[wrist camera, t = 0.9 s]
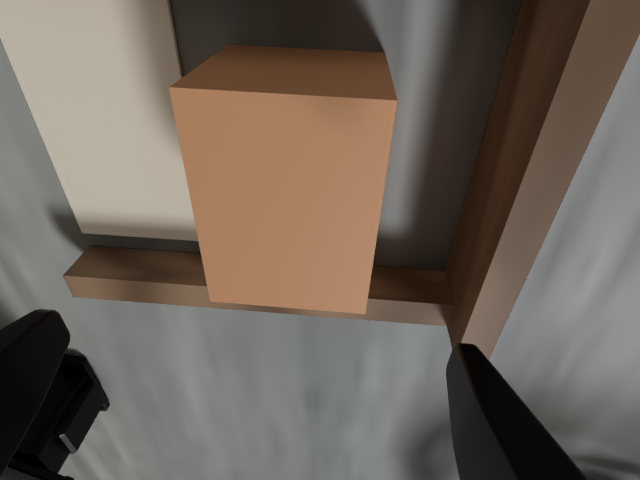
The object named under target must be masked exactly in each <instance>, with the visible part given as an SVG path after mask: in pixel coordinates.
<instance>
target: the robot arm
mask: <svg viewBox="0 0 640 480" xmlns="http://www.w3.org/2000/svg"><path fill="white" fill-rule="evenodd" d="M69 342H70V333H69V331H68V329H67V327H66V325H65V323H64V321H63V319H62V318H61V316H60V314H59V313H58V312H57V311H55V310H47V309H37V310H34V311H32V312H30V313H29V314H27V315H25V316H23V317H22V318H20V319H18V320H16V321H15V322H13V323H11V324H9V325H8V326H6V327H4V328H2V329H1V330H0V480H74V478H72V477H69V476H62V475H60V474H58V472H59V471H60V469H61V467H62V465H63V464H64V462H65V460H66V459H67V457H68V455H69V453H71V454H73V453H75V452H76V451H77V450H78V448H79V447H80V445H81V443H82V441H83V440H84V438H85V436H86V434H87V432H88V431H89V429H90V427H91V425H92V424H93V422H94V420H95V418H96V417H97V415H98V413H99V411H107V409H108V407H109V406H110V403H109V401H108V400H107V398H106V396H105V394H104V392H103V390H102V388H101V387H100V385H99V383H98V381H97V379H96V377H95V376H94V374H93V372H92V370H91V368H90V366H89V364H88V363H87V361H86V360H85V359H83V358H81V357H74V356H64V354H65V352H66V349H67V347H68V345H69ZM446 378H447V389H448V399H449V410H450V421H451V431H452V440H453V447H454V453H455V458H456V463H457V468H458V473H459V477H460V480H588V479H587V478H586V477H585V476H584V474H583V473H582V472H581V471H580V470H579V468H578V467H577V466H576V465H575V464H574V462H573V461H572V460H571V459H570V458H569V456H568V455H567V454H566V453H565V452H564V450H563V449H562V448H561V447H560V445H559V444H558V443H557V442H556V441H555V439H554V438H553V437H552V436H551V435H550V433H549V432H548V431H547V430H546V429H545V427H544V426H543V425H542V424H541V423H540V421H539V420H538V419H537V418H536V417H535V415H534V414H533V413H532V412H531V411H530V409H529V408H528V407H527V406H526V405H525V403H524V402H523V401H522V400H521V399H520V397H519V396H518V395H517V394H516V393H515V391H514V390H513V389H512V388H511V386H510V385H509V384H508V383H507V382H506V380H505V379H504V378H503V377H502V376H501V374H500V373H499V372H498V371H497V370H496V368H495V367H494V366H493V365H492V364H491V362H490V361H489V360H488V359H487V358H486V356H485V355H484V354H483V353H482V352H481V350H480V349H479V348H478V347H477V346H476V345H474V344H467V343H457V344H455V345H454V347H453V350H452V353H451V356H450V358H449V361H448V364H447V368H446Z"/></svg>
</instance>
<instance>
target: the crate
mask: <svg viewBox="0 0 640 480" xmlns="http://www.w3.org/2000/svg"><path fill="white" fill-rule="evenodd" d="M169 91H170V96H171V101H172V106H173V112H174V117H175V122H176V127H177V132H178V138H179V143H180V148H181V153H182V158H183V163H184V169H185V174H186V179H187V184H188V189H189V195H190V200H191V205H192V210H193V215H194V221H195V226H196V231H197V236H198V241H199V247H200V252H201V257H202V262H203V267H204V273H205V278H206V283H207V288H208V293H209V299H210V301H211V302H223V303H235V304H247V305H259V306H271V307H284V308H296V309H308V310H320V311H332V312H344V313H356V314H366V307H367V300H368V294H369V287H370V280H371V274H372V267H373V260H374V254H375V247H376V240H377V234H378V227H379V220H380V214H381V207H382V200H383V194H384V187H385V180H386V174H387V167H388V160H389V154H390V147H391V140H392V134H393V127H394V120H395V114H396V107H397V97H396V93H395V89H394V85H393V81H392V78H391V74H390V70H389V66H388V62H387V58H386V54H385V53H382V52H363V51H344V50H325V49H306V48H288V47H269V46H250V45H231V44H228V45H227V46H226V47H224V48H223V49H221V50H220V51H219V52H217V53H216V54H214V55H213V56H212V57H210V58H209V59H208V60H206V61H205V62H203V63H202V64H201V65H199V66H198V67H196V68H195V69H194V70H192V71H191V72H189V73H188V74H187V75H185V76H184V77H182V78H181V79H180V80H178V81H177V82H175V83H174V84H173V85H171V86H170V87H169Z"/></svg>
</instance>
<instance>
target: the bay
mask: <svg viewBox="0 0 640 480" xmlns="http://www.w3.org/2000/svg"><path fill="white" fill-rule="evenodd" d="M639 34H640V0H523V1H522V5H521V8H520V12H519V15H518V19H517V22H516V26H515V29H514V33H513V36H512V40H511V43H510V46H509V50H508V53H507V57H506V60H505V64H504V67H503V71H502V74H501V78H500V81H499V85H498V88H497V91H496V95H495V98H494V102H493V105H492V109H491V112H490V116H489V119H488V123H487V126H486V130H485V133H484V136H483V140H482V143H481V147H480V150H479V154H478V157H477V161H476V164H475V168H474V171H473V175H472V178H471V181H470V185H469V188H468V192H467V195H466V199H465V202H464V206H463V209H462V213H461V216H460V220H459V223H458V226H457V230H456V233H455V237H454V240H453V244H452V247H451V251H450V254H449V258H448V261H447V265H446V268H445V271H438V270H424V269H410V268H396V267H382V266H373V267H372V274H371V280H370V287H369V294H368V300H367V307H366V314H356V313H344V312H332V311H320V310H308V309H296V308H284V307H271V306H259V305H247V304H235V303H223V302H211V301H210V299H209V293H208V288H207V283H206V278H205V273H204V267H203V262H202V257H201V254H200V253H186V252H172V251H158V250H144V249H130V248H116V247H102V246H89V247H88V249H87V250H86V251H85V252H84V253H83V254H82V255H81V256H80V257H79V258H78V260H77V261H76V262H75V263H74V264H73V265H72V266H71V267H70V268H69V269H68V270H67V272H66V273H65V274H64V275H63V277H64V279H65V281H66V283H67V285H68V287H69V289H70V291H71V293H72V295H73V297H82V298H95V299H107V300H120V301H133V302H146V303H158V304H171V305H184V306H197V307H210V308H222V309H235V310H248V311H261V312H273V313H286V314H299V315H312V316H325V317H337V318H350V319H363V320H376V321H389V322H401V323H414V324H427V325H440V326H447V328H448V333H449V337H450V341H451V345H452V350H453V347H454V345H455V344H457V343H467V344H474V345H476V346H477V347H478V348H479V349H480V350H481V352H482V353H483V354H484V355H485V356H486V358H487V359H488V360H489V358H490V356H491V354H492V352H493V350H494V348H495V345H496V343H497V341H498V339H499V337H500V335H501V332H502V330H503V328H504V326H505V324H506V322H507V319H508V317H509V315H510V313H511V311H512V309H513V306H514V304H515V302H516V300H517V298H518V296H519V293H520V291H521V289H522V287H523V285H524V283H525V281H526V278H527V276H528V274H529V272H530V270H531V268H532V265H533V263H534V261H535V259H536V257H537V255H538V252H539V250H540V248H541V246H542V244H543V242H544V239H545V237H546V235H547V233H548V231H549V229H550V226H551V224H552V222H553V220H554V218H555V216H556V214H557V211H558V209H559V207H560V205H561V203H562V201H563V198H564V196H565V194H566V192H567V190H568V188H569V185H570V183H571V181H572V179H573V177H574V175H575V172H576V170H577V168H578V166H579V164H580V162H581V159H582V157H583V155H584V153H585V151H586V149H587V146H588V144H589V142H590V140H591V138H592V136H593V134H594V131H595V129H596V127H597V125H598V123H599V121H600V118H601V116H602V114H603V112H604V110H605V108H606V105H607V103H608V101H609V99H610V97H611V95H612V92H613V90H614V88H615V86H616V84H617V82H618V79H619V77H620V75H621V73H622V71H623V69H624V67H625V64H626V62H627V60H628V58H629V56H630V54H631V51H632V49H633V47H634V45H635V43H636V41H637V38H638V36H639ZM0 38H1V41H2V43H3V45H4V48H5V50H6V53H7V55H8V57H9V60H10V62H11V65H12V67H13V69H14V72H15V74H16V76H17V79H18V81H19V84H20V86H21V88H22V91H23V93H24V96H25V98H26V100H27V103H28V105H29V108H30V110H31V112H32V115H33V117H34V120H35V122H36V124H37V127H38V129H39V131H40V134H41V136H42V139H43V141H44V143H45V146H46V148H47V151H48V153H49V155H50V158H51V160H52V163H53V165H54V167H55V170H56V172H57V175H58V177H59V179H60V182H61V184H62V186H63V189H64V191H65V194H66V196H67V198H68V201H69V203H70V206H71V208H72V210H73V213H74V215H75V218H76V220H77V222H78V225H79V227H80V230H81V232H82V233H87V234H101V235H115V236H130V237H144V238H158V239H173V240H187V241H198V236H197V231H196V226H195V221H194V215H193V210H192V205H191V200H190V195H189V189H188V184H187V179H186V174H185V169H184V163H183V158H182V153H181V148H180V143H179V138H178V132H177V127H176V122H175V117H174V112H173V106H172V101H171V96H170V91H169V87H170V86H171V85H173V84H174V83H175V82H177V81H178V80H180V79H181V78H182V77H183V76H182V71H181V65H180V59H179V54H178V48H177V42H176V37H175V31H174V25H173V20H172V14H171V8H170V2H169V0H0Z"/></svg>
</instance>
